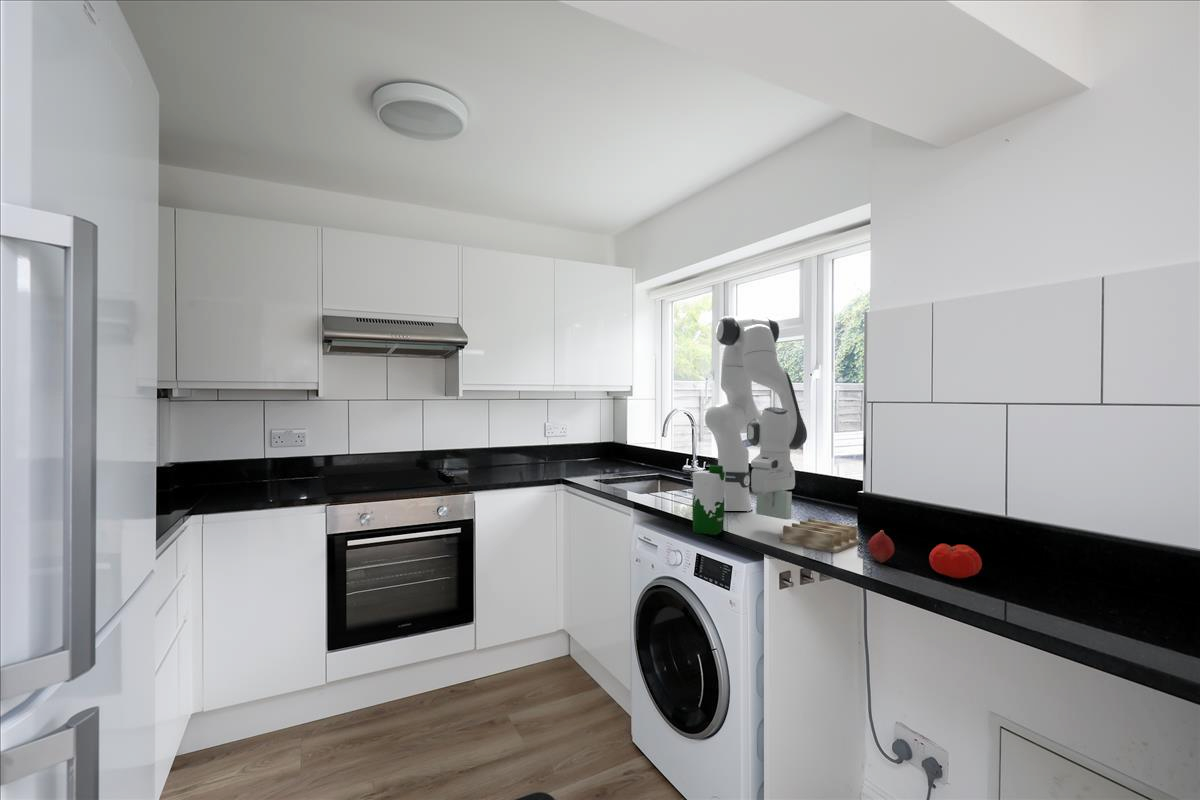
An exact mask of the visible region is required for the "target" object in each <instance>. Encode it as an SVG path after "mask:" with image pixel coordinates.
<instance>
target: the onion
mask: <svg viewBox="0 0 1200 800" xmlns="http://www.w3.org/2000/svg"><path fill="white" fill-rule="evenodd" d="M884 531H885V530H883V529H882V530H881V529H880V530H879V532H877V533H875V534H874V535H873V536H871V538H870V539H869V540H868V543H867V549H868V551H869V554H870V555H871V556H872V557H873V558H874V559H875V560H877V562H879V563H880V564H881V563H882V564H883V563H884V562H886V561H888V560H889V559H890V558H891V557H893V555H894V554H895V545H894V542H893V541H892V539H891V538H890V537H889V536H888V535H886V534H885V532H884Z"/></svg>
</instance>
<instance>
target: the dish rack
mask: <svg viewBox="0 0 1200 800" xmlns="http://www.w3.org/2000/svg"><path fill="white" fill-rule="evenodd" d="M857 531H858V527H857V526H854V525H848V524H843V523H838V522H831V521H826V520H820V519H813V518H807V521H804V520H800V521H799V523H794V522H792V523H791V525H790V526H789V525H783V526H782V536H780V537H779V541H778V542H781V541H782V543H786V544H792V545H797V546H800V547H806V548H809V549H810V548H811V549H816V550H820V551H824V552H830V553H834V554H837V553H840V552H842V551H844V550H848V549H849V548H853V547H855V546H857V545H860V544H861V539H860V538H859V539H858V538H857V536H858V534H857V533H858V532H857ZM859 543H860V544H859Z"/></svg>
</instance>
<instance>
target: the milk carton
mask: <svg viewBox="0 0 1200 800" xmlns="http://www.w3.org/2000/svg"><path fill="white" fill-rule="evenodd" d="M708 467H709V468H708V470H698V471H694V472H692V503H693V505H692V532H693V533H697V534H703V535H704V534H705V535H710V536H711V535H712V536H717V535H719V534H720V533H722V532H723V531H724V526H725V525H724V524H725V523H724V522H725V512H724V493H725V475H726V472H723V466H720V465H718V464H717V465H716V464H715V465H714V464H710V465H708ZM722 530H723V531H722Z"/></svg>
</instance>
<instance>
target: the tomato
mask: <svg viewBox="0 0 1200 800" xmlns="http://www.w3.org/2000/svg"><path fill="white" fill-rule="evenodd" d="M928 559H929V565H930V567H931V568H932V569H933V570H934V571H935V572H936V573H938V574H940V575H944V576H947V577H950V578H953V579H966V578H968V577H973V576H975V575H977V574H979V572H980V571H981V569H982V565H983V562H982V558H981V556H980V554H979V553H978V552H977V551H976V550H975V549H973V548H972V547H971V546H969V545H966V544H956V545H953V546H951V545H949V544H947V543H939V544H938V545H936V546H935V547H934V548H932V550H931V552H930V553H929V557H928Z"/></svg>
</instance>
